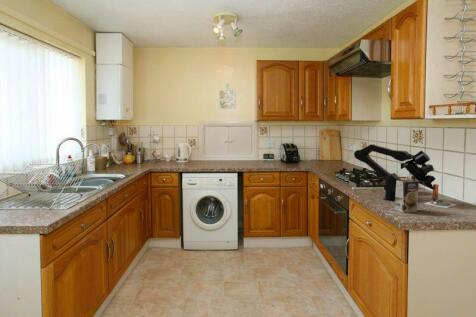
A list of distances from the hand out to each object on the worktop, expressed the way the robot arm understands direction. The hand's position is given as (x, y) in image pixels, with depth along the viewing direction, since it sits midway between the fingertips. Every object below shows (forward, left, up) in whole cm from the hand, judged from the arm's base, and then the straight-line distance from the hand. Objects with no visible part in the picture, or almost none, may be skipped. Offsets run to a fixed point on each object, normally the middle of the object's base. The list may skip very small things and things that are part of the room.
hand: (432, 188), depth 197 cm
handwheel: (0, -5, -8) cm, 9 cm away
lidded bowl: (+14, +22, -8) cm, 28 cm away
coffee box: (-30, -1, -8) cm, 31 cm away
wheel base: (0, -5, -8) cm, 9 cm away
